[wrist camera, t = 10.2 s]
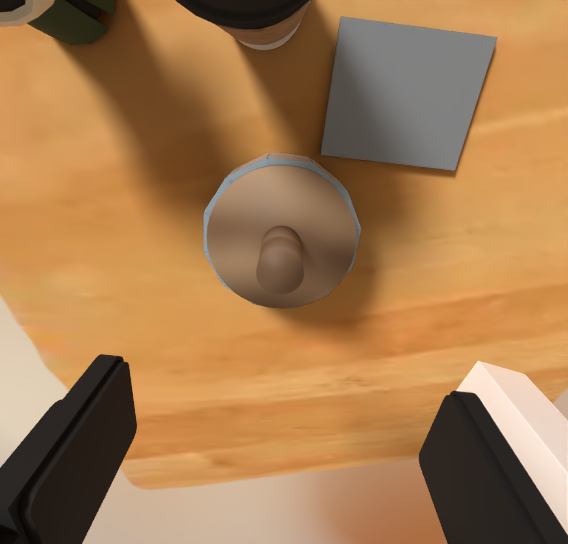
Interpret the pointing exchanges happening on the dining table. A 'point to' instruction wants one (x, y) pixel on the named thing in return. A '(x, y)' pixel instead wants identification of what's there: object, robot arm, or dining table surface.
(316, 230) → the lid
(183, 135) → the dining table surface
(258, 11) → the coffee cup
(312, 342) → the dining table surface
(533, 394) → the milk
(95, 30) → the character mug
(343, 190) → the bowl
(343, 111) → the mat
